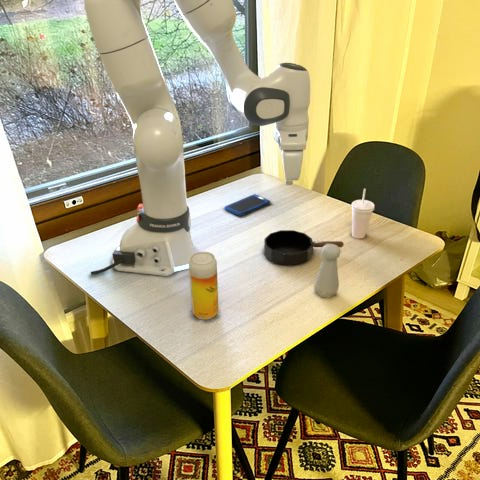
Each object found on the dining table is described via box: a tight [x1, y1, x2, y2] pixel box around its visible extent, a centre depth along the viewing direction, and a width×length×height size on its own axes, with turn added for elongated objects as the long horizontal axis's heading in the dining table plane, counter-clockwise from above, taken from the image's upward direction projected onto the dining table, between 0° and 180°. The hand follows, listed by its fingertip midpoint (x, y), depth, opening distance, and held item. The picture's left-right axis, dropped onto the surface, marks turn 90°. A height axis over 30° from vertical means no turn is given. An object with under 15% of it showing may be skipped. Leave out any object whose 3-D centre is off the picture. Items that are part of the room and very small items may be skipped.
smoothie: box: [350, 188, 376, 239], centre depth 145 cm, size 6×6×14 cm
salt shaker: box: [314, 244, 341, 299], centre depth 123 cm, size 6×6×13 cm
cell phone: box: [224, 193, 271, 217], centre depth 165 cm, size 7×14×1 cm, turn 134°
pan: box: [263, 229, 345, 267], centre depth 141 cm, size 21×13×4 cm, turn 90°
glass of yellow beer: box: [188, 251, 220, 321], centre depth 116 cm, size 6×6×15 cm
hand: (288, 183), depth 142 cm, fingers closed
